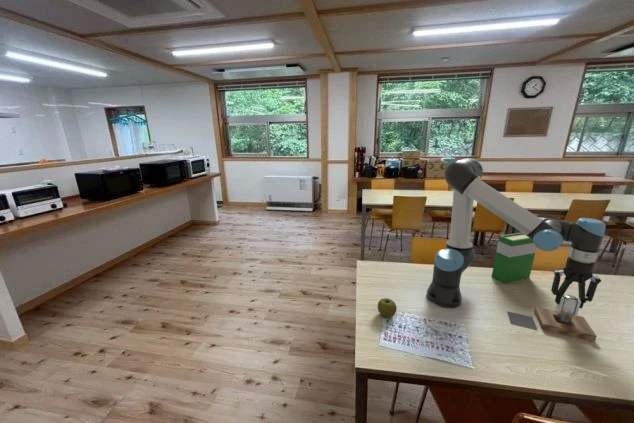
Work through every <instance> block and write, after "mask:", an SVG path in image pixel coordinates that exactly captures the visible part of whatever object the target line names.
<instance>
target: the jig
mask: <svg viewBox="0 0 634 423" xmlns="http://www.w3.org/2000/svg"><path fill="white" fill-rule="evenodd" d="M533 313H534V315H535V317H536V320H537V322H538V325H539V327H540V329H541V330H543V331H547V332H552V333H556V334H560V335H563V336H568V337H573V338H577V339H581V340H586V341H587V342H590V343H596V339H597V336H598V335H597V334H596V333H595V332H594V330H593V328H592V327H591V325H590V324H589V323H588V321H587V320H586V319H585V317H584V316H581V315H577V316H574V315H573V318H572V321H571V322H564V321H561V320H560V319H558V318H557V315H558V312H557V310H553V309H549V308H542V307H539V306H535V307H534V310H533ZM560 322H561V323H560ZM565 323H566V324H565Z"/></svg>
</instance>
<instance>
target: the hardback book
mask: <svg viewBox="0 0 634 423" xmlns="http://www.w3.org/2000/svg"><path fill="white" fill-rule="evenodd" d="M537 249H538V248H537V247H536V246H535V244H534V242H533V240H532V239H530V238H529V237H528V236H526V235H525V234H523V233H522V232H516V233H510V234H509V233H508V234H502V235H499V236H498V241H497V247H496V252H495V255H494V263H493V267H492V272H491V278H493V279H495V280H497V281H498V282H500V283H503V284H508V283H513V281H514V282H518V281H517V280H519V281H523V280H522V279H524V280H527V279H526V278H528V279H530V277H531V273H532V268H533V264H534V260H535V256H536V251H537Z"/></svg>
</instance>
